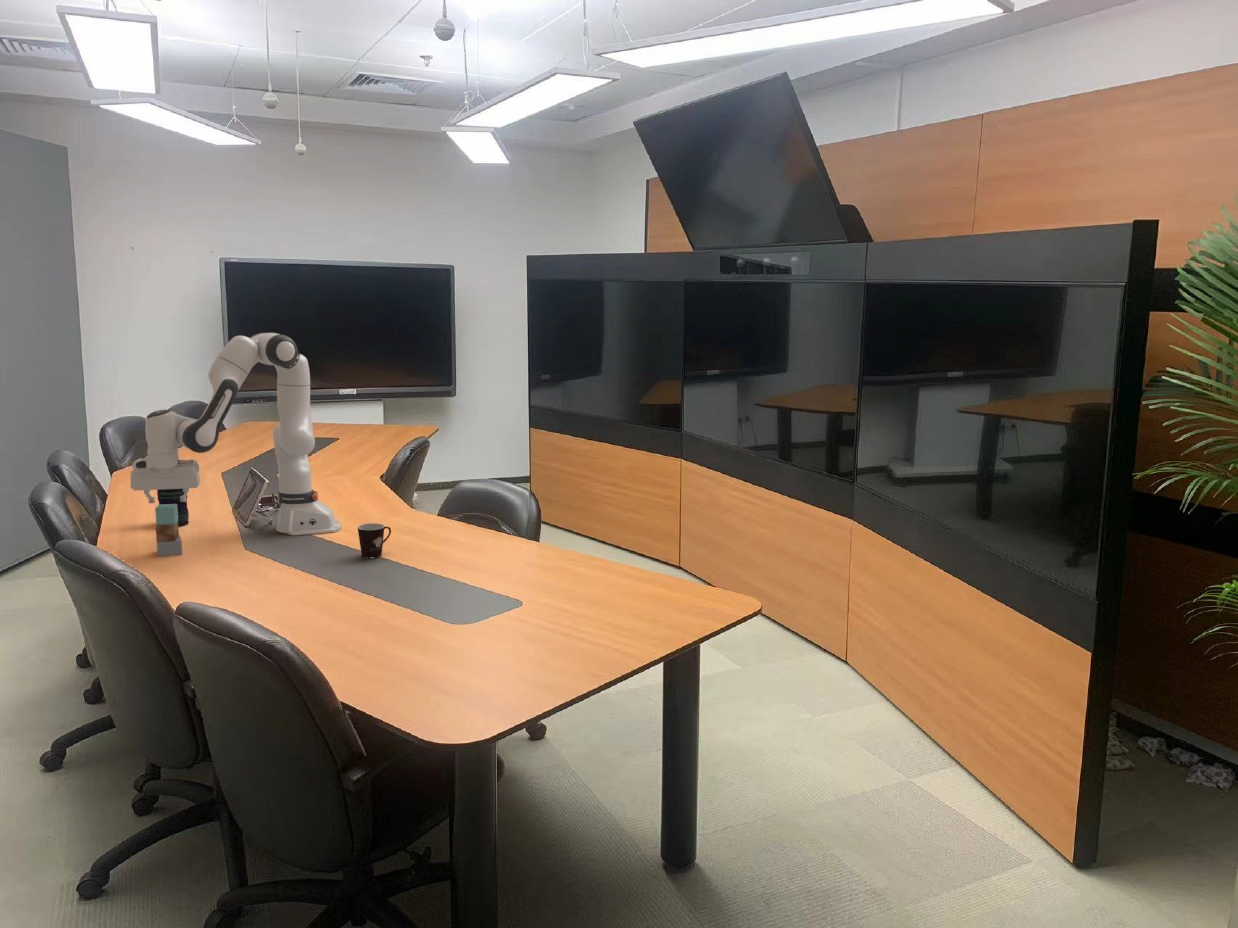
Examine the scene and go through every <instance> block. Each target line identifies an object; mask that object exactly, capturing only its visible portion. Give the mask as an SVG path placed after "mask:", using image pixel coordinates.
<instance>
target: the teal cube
mask: <svg viewBox="0 0 1238 928" xmlns="http://www.w3.org/2000/svg"><path fill="white" fill-rule="evenodd" d="M154 509H155V523H156V524H155V526H156V525H172V524H176V523H177V521H178V508H177V504H160V505H159V504H158V505H157V506H156V507H155V508H154Z"/></svg>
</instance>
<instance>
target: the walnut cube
mask: <svg viewBox="0 0 1238 928" xmlns="http://www.w3.org/2000/svg"><path fill="white" fill-rule="evenodd" d="M155 535H156V536H155V537H156V539H157V540H156V543H157V542H162V541H176V539H177V538H178V537H179V535H180V533H179V527H178V521H177V523H176V524H172V525H156V524H155Z"/></svg>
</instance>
